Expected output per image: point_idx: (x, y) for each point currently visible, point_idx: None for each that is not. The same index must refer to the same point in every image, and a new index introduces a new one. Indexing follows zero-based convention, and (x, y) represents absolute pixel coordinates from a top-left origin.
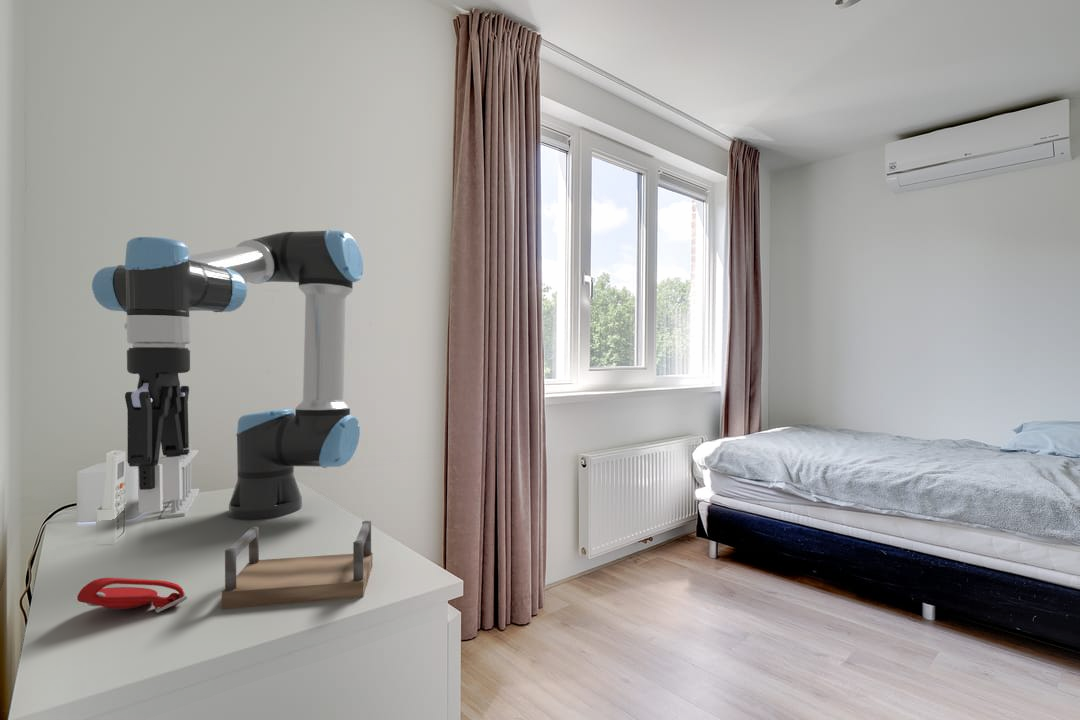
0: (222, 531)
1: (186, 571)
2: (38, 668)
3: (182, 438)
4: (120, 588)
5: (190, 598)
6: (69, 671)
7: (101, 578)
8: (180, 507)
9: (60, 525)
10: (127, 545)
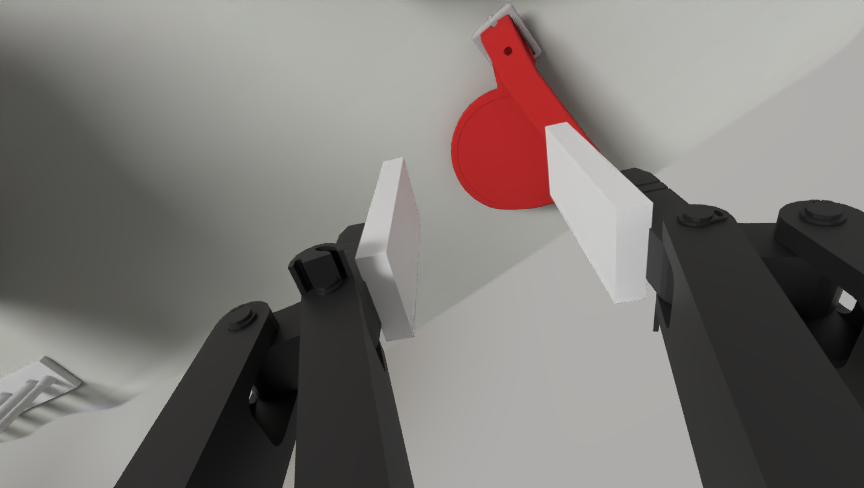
0: (77, 226)
1: (315, 147)
2: (715, 119)
3: (258, 368)
4: (477, 181)
5: (454, 31)
6: (747, 54)
7: None
8: (18, 386)
9: None
10: None
